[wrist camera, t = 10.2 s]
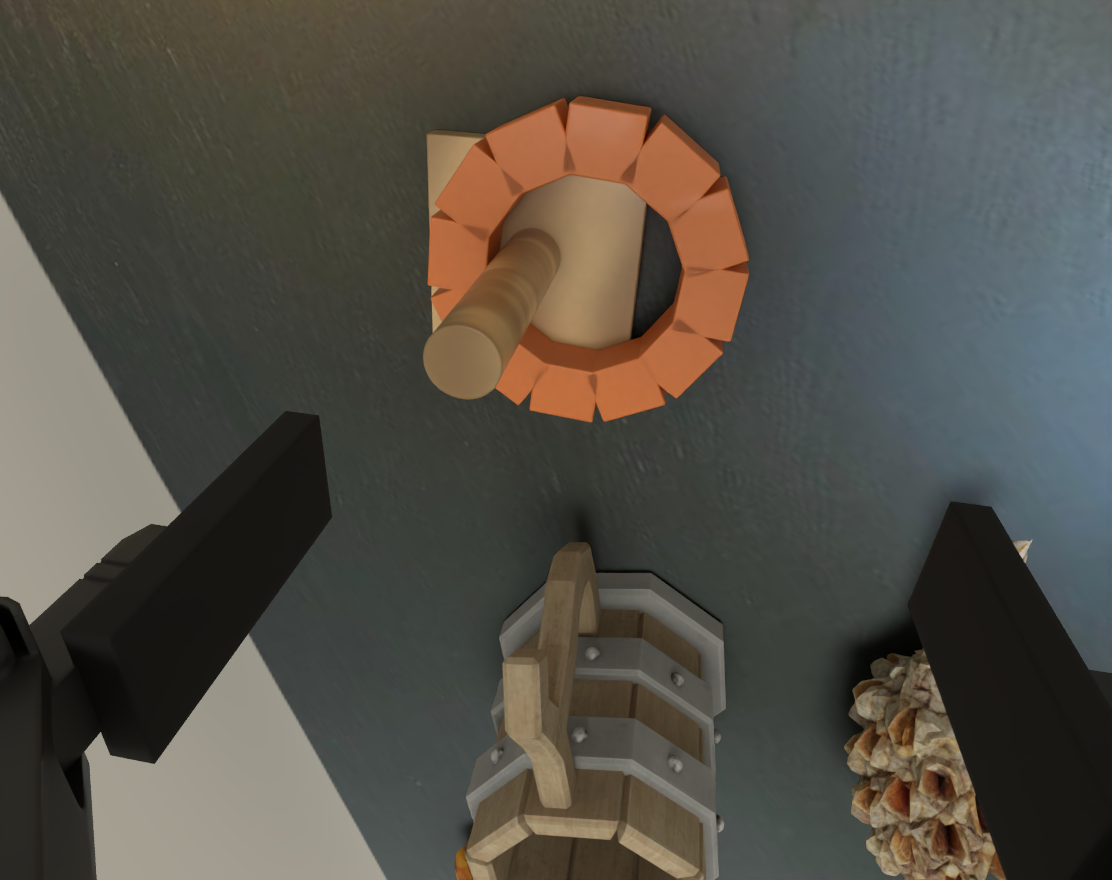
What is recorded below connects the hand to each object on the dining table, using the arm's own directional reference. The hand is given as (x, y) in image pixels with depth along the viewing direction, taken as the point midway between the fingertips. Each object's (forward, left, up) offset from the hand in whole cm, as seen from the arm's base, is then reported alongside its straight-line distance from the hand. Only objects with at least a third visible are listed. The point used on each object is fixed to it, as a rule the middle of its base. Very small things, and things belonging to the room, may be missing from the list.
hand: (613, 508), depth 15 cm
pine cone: (-17, +19, -19) cm, 32 cm away
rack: (+5, 0, -18) cm, 19 cm away
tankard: (0, +20, -19) cm, 27 cm away
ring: (+3, 0, -17) cm, 17 cm away
